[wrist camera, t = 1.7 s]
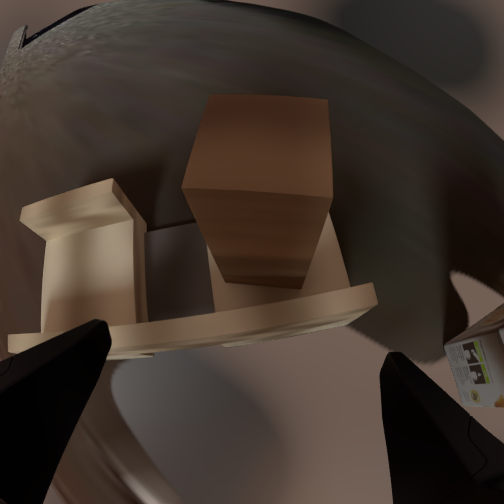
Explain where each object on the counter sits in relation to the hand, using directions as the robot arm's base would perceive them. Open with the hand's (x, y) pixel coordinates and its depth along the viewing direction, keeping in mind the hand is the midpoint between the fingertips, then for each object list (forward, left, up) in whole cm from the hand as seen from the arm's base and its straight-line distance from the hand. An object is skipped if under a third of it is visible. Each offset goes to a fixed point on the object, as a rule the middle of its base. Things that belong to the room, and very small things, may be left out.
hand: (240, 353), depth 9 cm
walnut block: (+6, -4, -10) cm, 13 cm away
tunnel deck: (+8, +2, -13) cm, 16 cm away
